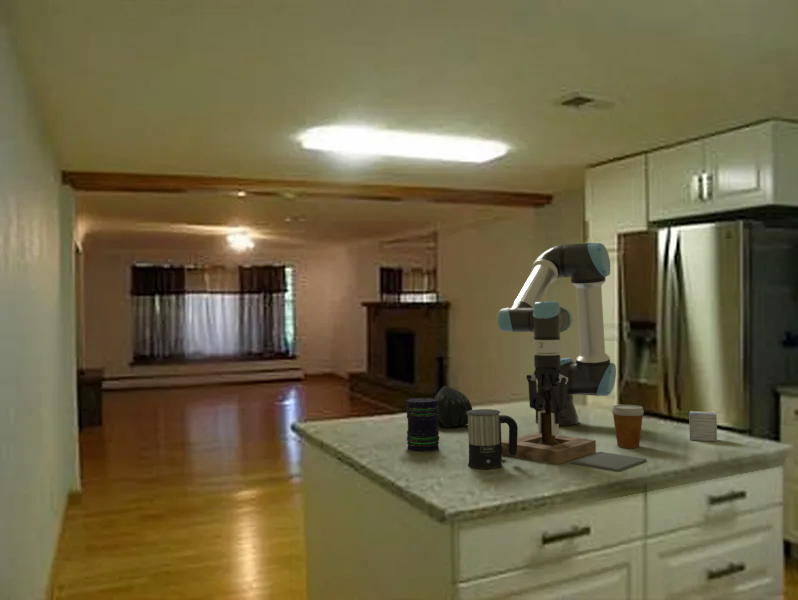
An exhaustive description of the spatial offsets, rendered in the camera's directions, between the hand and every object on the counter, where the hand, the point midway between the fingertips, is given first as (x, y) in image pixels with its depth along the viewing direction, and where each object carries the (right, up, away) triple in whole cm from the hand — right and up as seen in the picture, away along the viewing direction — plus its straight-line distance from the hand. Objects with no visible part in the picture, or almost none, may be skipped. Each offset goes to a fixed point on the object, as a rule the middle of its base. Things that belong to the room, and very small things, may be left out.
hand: (548, 433), depth 208 cm
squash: (-25, -6, +47) cm, 54 cm away
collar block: (0, -6, -1) cm, 6 cm away
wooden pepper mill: (0, -5, 0) cm, 5 cm away
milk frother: (-20, -6, -11) cm, 23 cm away
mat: (+14, -5, -13) cm, 20 cm away
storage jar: (-36, -6, +9) cm, 38 cm away
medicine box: (+52, -5, +15) cm, 54 cm away
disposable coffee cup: (+26, -5, +7) cm, 27 cm away
